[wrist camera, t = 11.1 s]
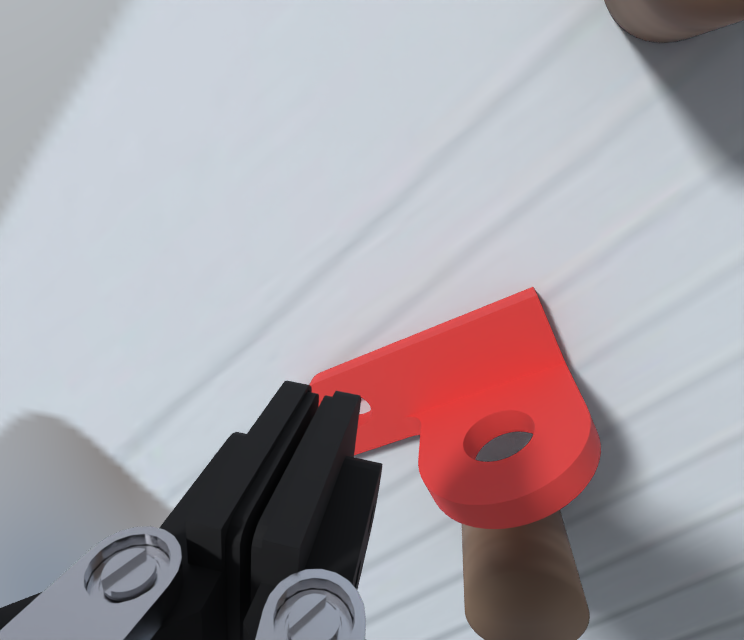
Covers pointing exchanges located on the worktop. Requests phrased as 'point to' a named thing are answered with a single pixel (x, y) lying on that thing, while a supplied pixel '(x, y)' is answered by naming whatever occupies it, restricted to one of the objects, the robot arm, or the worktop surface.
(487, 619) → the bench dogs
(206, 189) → the worktop surface
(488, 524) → the bracket
